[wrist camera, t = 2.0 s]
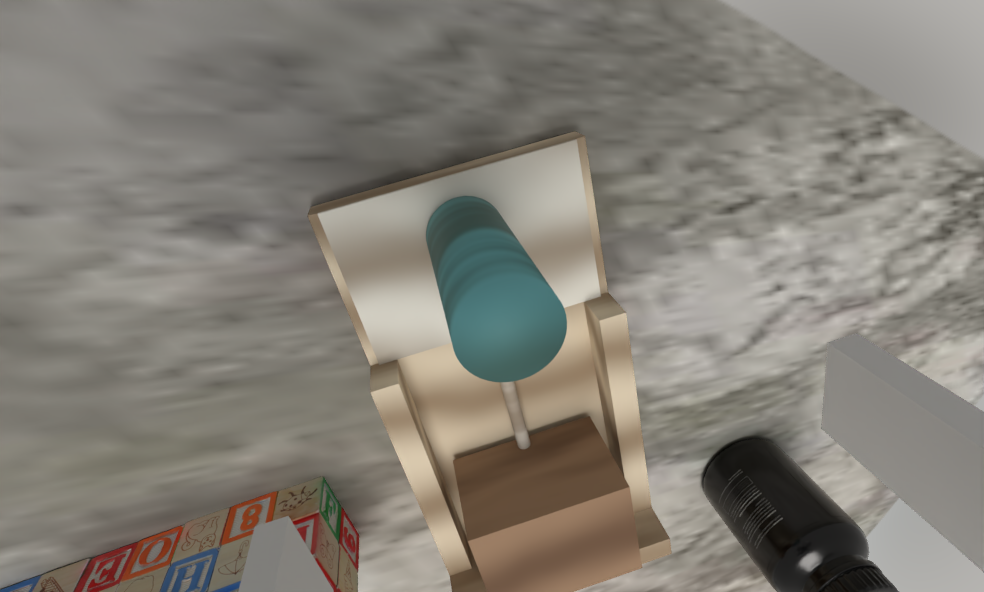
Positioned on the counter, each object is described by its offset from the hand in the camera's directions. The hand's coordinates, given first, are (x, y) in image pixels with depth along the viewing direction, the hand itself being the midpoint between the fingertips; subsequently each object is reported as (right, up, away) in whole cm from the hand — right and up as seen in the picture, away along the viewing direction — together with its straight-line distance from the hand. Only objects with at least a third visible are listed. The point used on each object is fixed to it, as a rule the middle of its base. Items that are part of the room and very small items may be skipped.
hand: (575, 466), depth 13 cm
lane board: (-1, -1, +21) cm, 21 cm away
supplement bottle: (+17, -9, +29) cm, 35 cm away
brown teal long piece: (-1, -1, +19) cm, 19 cm away
